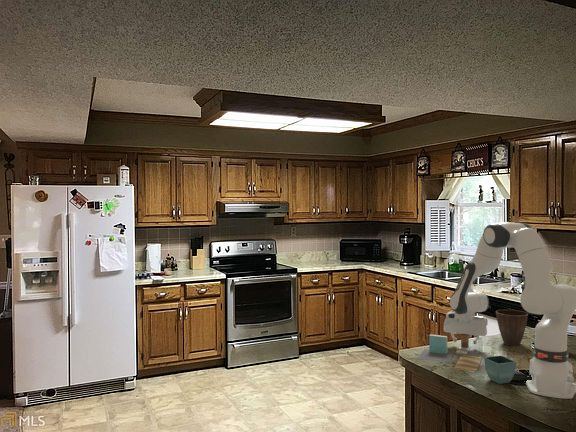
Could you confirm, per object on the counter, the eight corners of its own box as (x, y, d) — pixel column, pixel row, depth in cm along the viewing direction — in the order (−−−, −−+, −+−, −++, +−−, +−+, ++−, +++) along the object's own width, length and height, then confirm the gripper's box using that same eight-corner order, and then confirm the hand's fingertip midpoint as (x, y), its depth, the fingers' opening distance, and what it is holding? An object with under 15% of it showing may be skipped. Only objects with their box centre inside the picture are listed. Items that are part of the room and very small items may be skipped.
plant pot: (490, 343, 252) (490, 312, 252) (504, 338, 262) (504, 308, 262) (519, 349, 241) (519, 317, 241) (533, 344, 251) (533, 312, 250)
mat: (448, 363, 220) (448, 362, 220) (417, 358, 227) (417, 357, 227) (454, 353, 235) (454, 352, 235) (424, 349, 241) (424, 349, 241)
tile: (446, 354, 232) (446, 337, 232) (429, 352, 236) (429, 335, 236) (447, 353, 234) (447, 336, 234) (430, 350, 238) (430, 334, 238)
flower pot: (497, 386, 192) (497, 363, 191) (483, 379, 200) (483, 357, 200) (516, 384, 194) (516, 361, 194) (501, 377, 202) (501, 355, 202)
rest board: (476, 372, 208) (476, 370, 208) (454, 368, 213) (454, 367, 213) (482, 359, 226) (482, 357, 226) (461, 356, 230) (461, 354, 230)
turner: (466, 355, 231) (466, 341, 231) (455, 354, 233) (455, 339, 233) (470, 347, 244) (470, 333, 244) (460, 346, 247) (460, 332, 247)
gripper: (488, 315, 242) (488, 343, 242) (445, 311, 251) (445, 338, 251) (486, 318, 236) (486, 347, 236) (442, 314, 245) (442, 341, 246)
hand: (464, 342), depth 244 cm, fingers open, 8 cm apart
